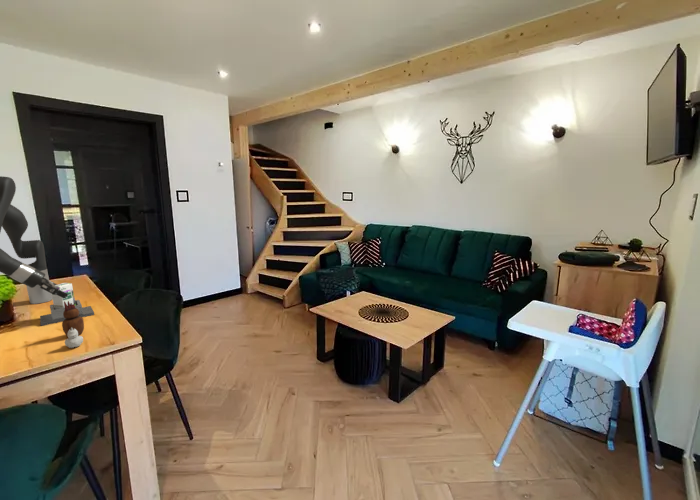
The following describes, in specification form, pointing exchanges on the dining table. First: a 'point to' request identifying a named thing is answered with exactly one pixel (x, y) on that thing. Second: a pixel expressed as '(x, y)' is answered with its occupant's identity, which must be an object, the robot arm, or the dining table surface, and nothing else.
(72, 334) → the rubber duck
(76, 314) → the wooden figurine
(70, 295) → the syrup box
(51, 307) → the steel sleeve
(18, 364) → the dining table surface
